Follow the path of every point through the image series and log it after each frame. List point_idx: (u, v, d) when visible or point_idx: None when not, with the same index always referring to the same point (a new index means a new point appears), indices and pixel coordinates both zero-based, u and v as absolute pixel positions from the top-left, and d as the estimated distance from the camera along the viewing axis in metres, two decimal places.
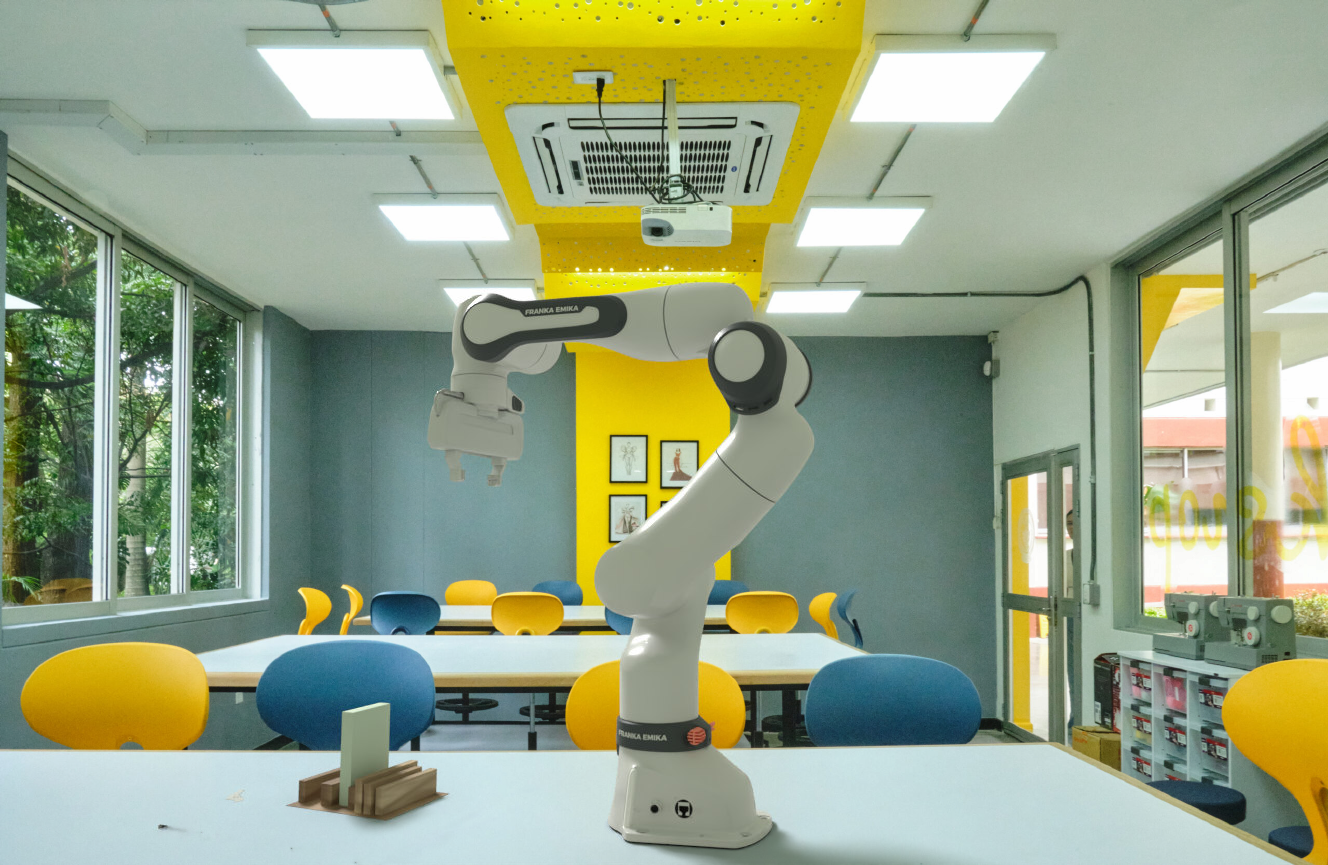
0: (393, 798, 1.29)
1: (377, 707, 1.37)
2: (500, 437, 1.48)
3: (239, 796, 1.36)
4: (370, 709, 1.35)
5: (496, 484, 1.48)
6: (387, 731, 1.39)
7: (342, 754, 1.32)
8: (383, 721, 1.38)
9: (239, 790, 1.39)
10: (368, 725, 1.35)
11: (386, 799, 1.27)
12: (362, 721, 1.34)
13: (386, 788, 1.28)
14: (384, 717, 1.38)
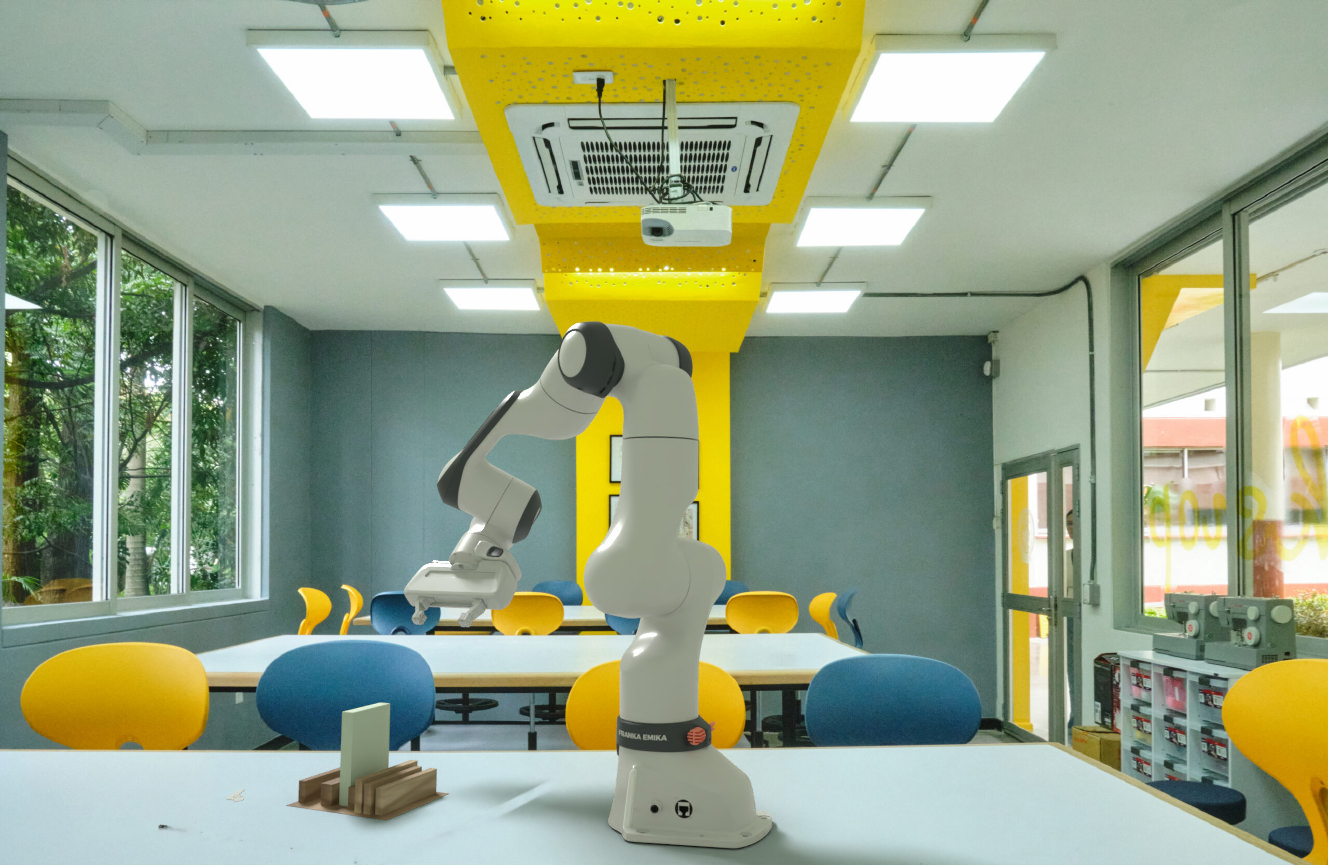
0: (393, 798, 1.29)
1: (377, 707, 1.37)
2: (472, 582, 1.56)
3: (239, 796, 1.36)
4: (370, 709, 1.35)
5: (459, 620, 1.51)
6: (387, 731, 1.39)
7: (342, 754, 1.32)
8: (383, 721, 1.38)
9: (239, 790, 1.39)
10: (368, 725, 1.35)
11: (386, 799, 1.27)
12: (362, 721, 1.34)
13: (386, 788, 1.28)
14: (384, 717, 1.38)
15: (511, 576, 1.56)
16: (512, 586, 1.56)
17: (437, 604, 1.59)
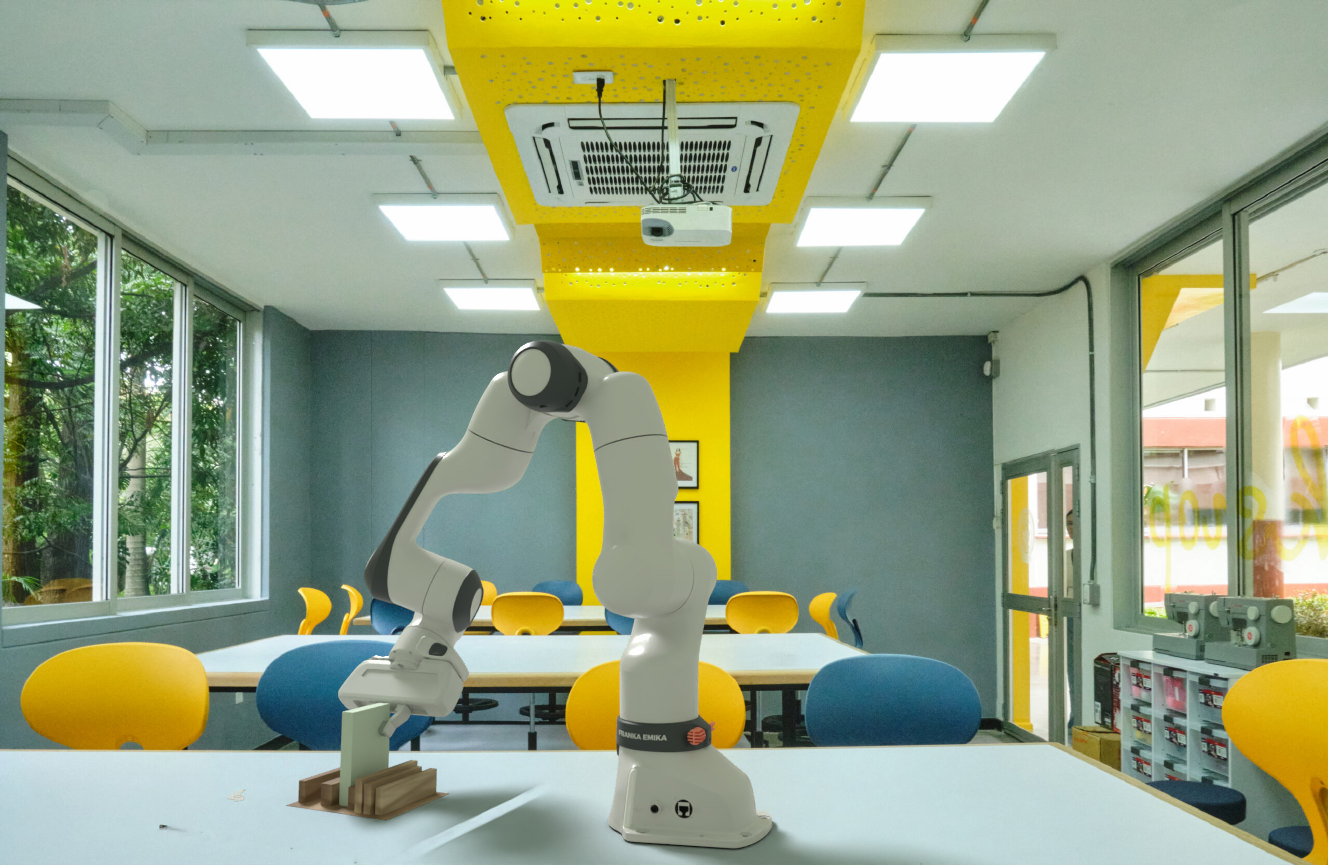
0: (393, 798, 1.29)
1: (377, 707, 1.37)
2: (412, 684, 1.41)
3: (240, 796, 1.36)
4: (370, 709, 1.35)
5: (379, 730, 1.37)
6: None
7: (342, 754, 1.32)
8: None
9: (240, 790, 1.40)
10: (368, 724, 1.35)
11: (386, 799, 1.27)
12: (362, 721, 1.34)
13: (386, 788, 1.28)
14: (384, 717, 1.38)
15: (455, 678, 1.41)
16: (457, 689, 1.40)
17: None
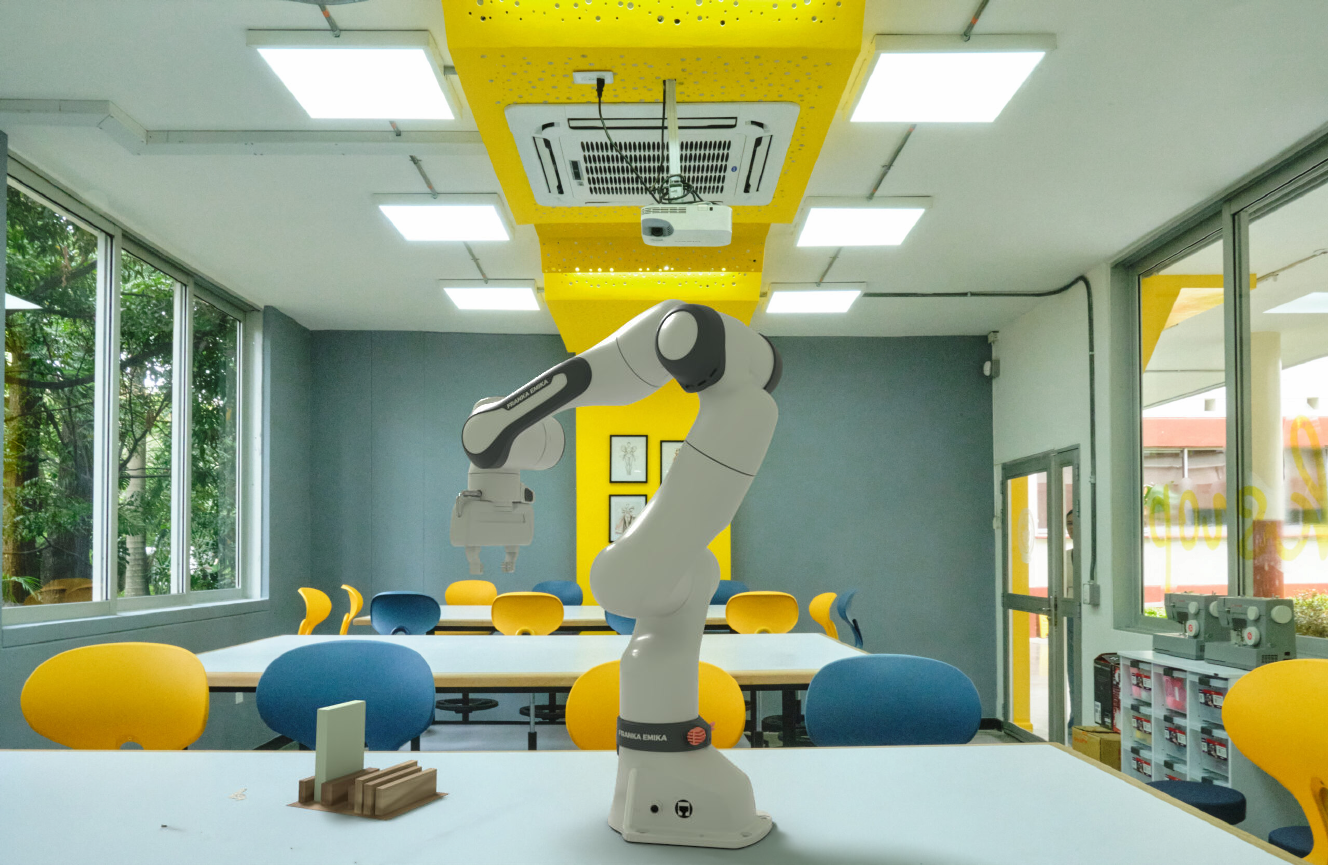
0: (393, 798, 1.29)
1: (352, 704, 1.39)
2: (513, 527, 1.59)
3: (241, 795, 1.37)
4: (345, 706, 1.38)
5: (510, 571, 1.59)
6: (362, 728, 1.41)
7: (317, 751, 1.34)
8: (358, 718, 1.40)
9: (241, 789, 1.40)
10: (343, 722, 1.37)
11: (386, 799, 1.27)
12: (337, 718, 1.36)
13: (386, 788, 1.28)
14: (359, 714, 1.40)
15: None
16: None
17: None
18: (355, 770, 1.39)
